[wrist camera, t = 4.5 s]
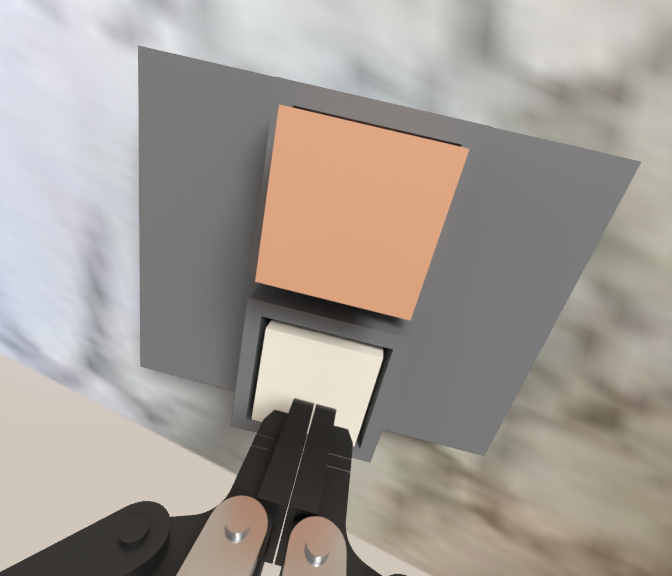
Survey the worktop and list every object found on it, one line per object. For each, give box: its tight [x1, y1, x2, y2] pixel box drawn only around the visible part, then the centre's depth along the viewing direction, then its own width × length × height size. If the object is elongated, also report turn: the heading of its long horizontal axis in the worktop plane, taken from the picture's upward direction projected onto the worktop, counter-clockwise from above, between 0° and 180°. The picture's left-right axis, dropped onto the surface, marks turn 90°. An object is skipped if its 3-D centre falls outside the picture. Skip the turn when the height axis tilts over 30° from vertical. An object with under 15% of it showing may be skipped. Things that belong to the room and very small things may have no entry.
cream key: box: [252, 319, 383, 447], centre depth 14 cm, size 4×4×2 cm
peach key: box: [255, 105, 469, 321], centre depth 9 cm, size 4×4×2 cm
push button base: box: [138, 46, 641, 462], centre depth 14 cm, size 18×14×6 cm
